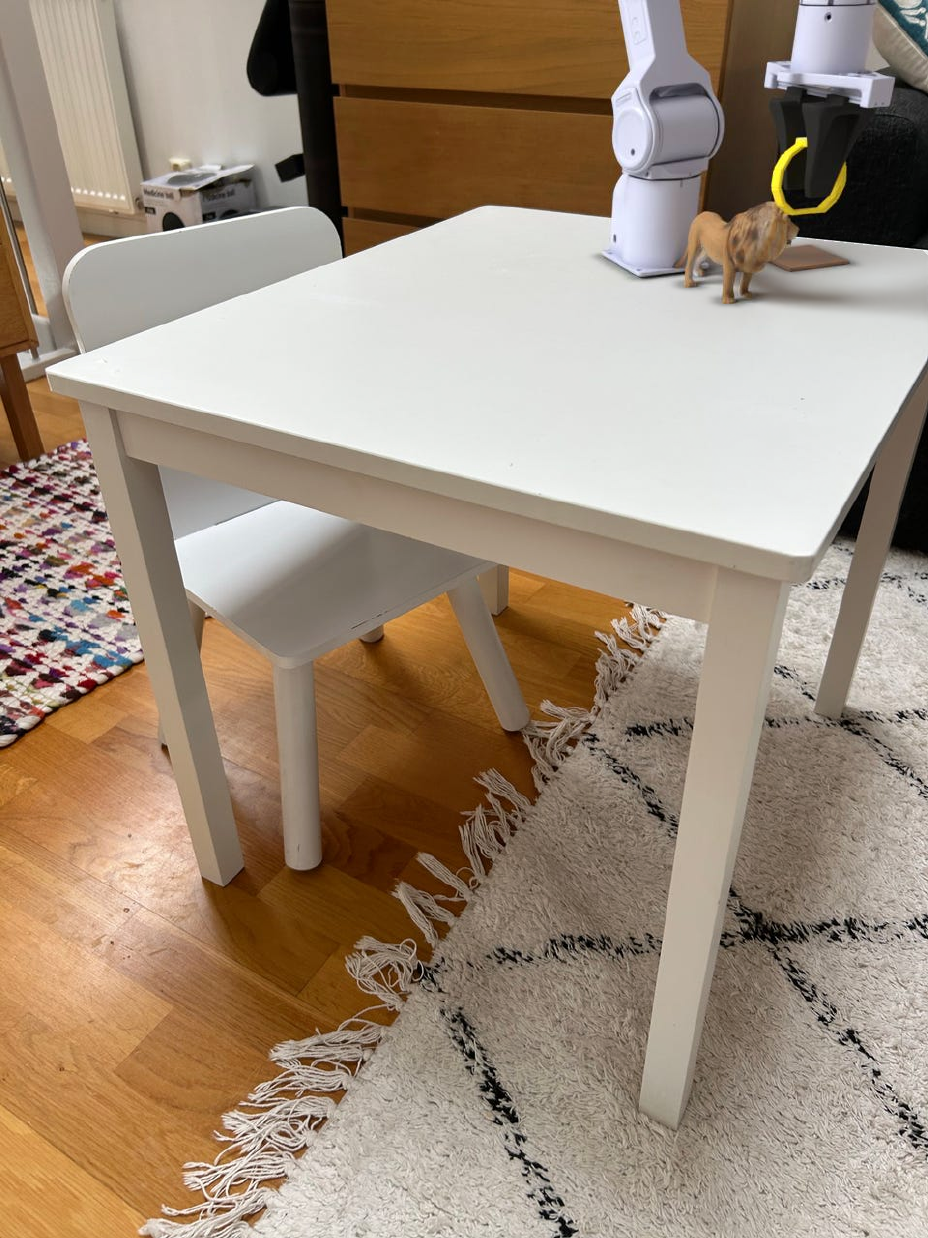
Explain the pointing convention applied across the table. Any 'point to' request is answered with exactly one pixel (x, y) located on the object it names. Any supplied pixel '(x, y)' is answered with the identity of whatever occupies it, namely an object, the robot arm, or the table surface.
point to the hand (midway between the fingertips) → (806, 192)
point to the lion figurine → (737, 245)
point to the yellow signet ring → (778, 179)
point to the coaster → (806, 258)
